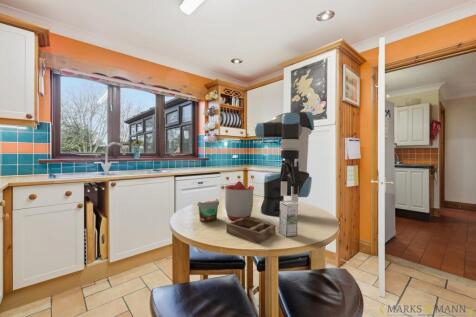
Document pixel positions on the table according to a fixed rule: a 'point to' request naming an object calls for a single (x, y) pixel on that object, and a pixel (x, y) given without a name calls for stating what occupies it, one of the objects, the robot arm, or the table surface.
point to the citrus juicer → (238, 201)
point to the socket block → (251, 229)
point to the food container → (208, 211)
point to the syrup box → (288, 218)
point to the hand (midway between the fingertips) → (288, 198)
